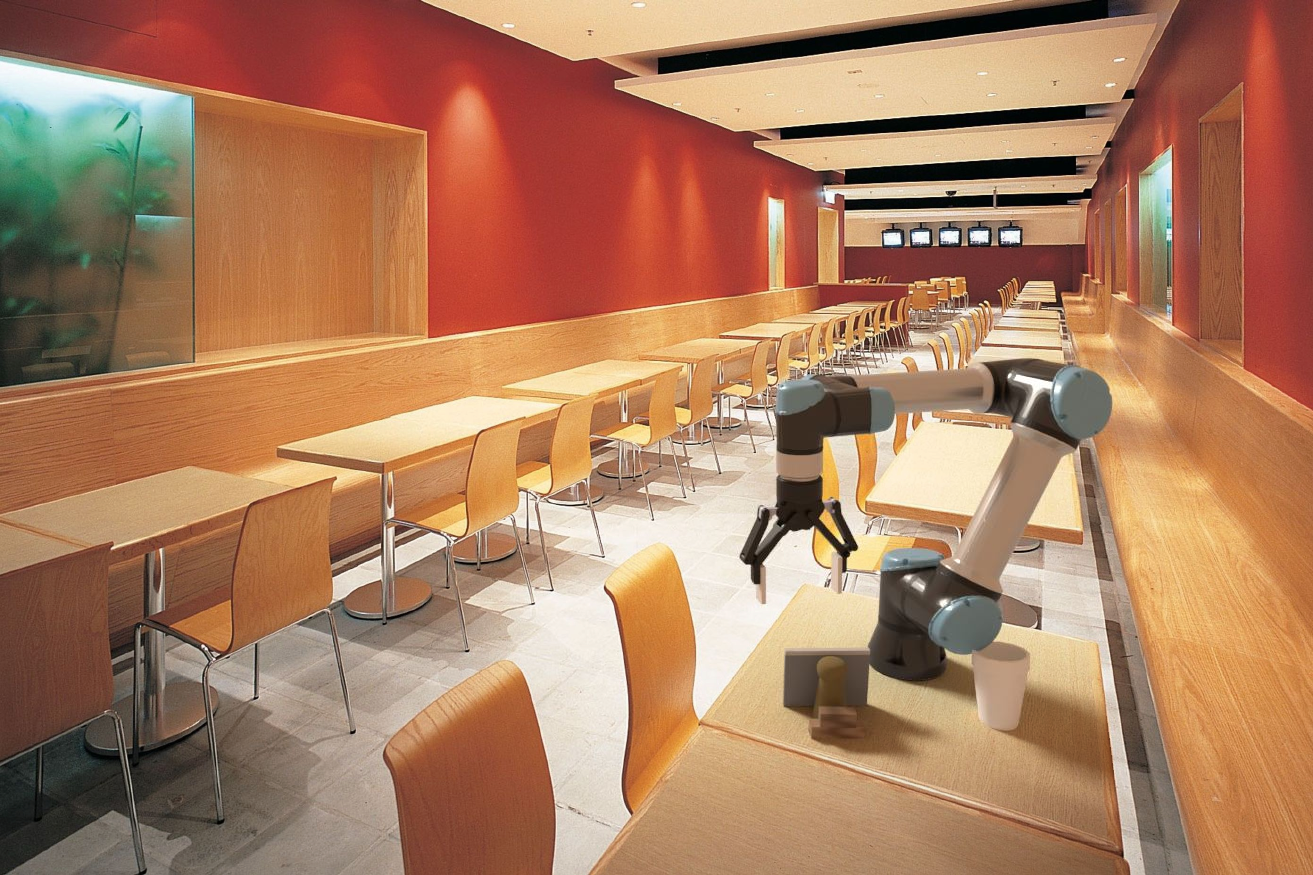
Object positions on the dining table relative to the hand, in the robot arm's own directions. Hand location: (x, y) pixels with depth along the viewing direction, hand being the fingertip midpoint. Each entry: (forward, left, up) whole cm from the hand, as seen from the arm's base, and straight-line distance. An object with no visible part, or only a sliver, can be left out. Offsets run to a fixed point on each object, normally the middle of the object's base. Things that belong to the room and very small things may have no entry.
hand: (799, 595), depth 146 cm
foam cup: (-34, +9, -24) cm, 43 cm away
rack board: (-7, -3, -23) cm, 24 cm away
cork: (-6, +1, -23) cm, 24 cm away
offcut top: (-5, +6, -21) cm, 22 cm away
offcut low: (-5, +6, -23) cm, 25 cm away
